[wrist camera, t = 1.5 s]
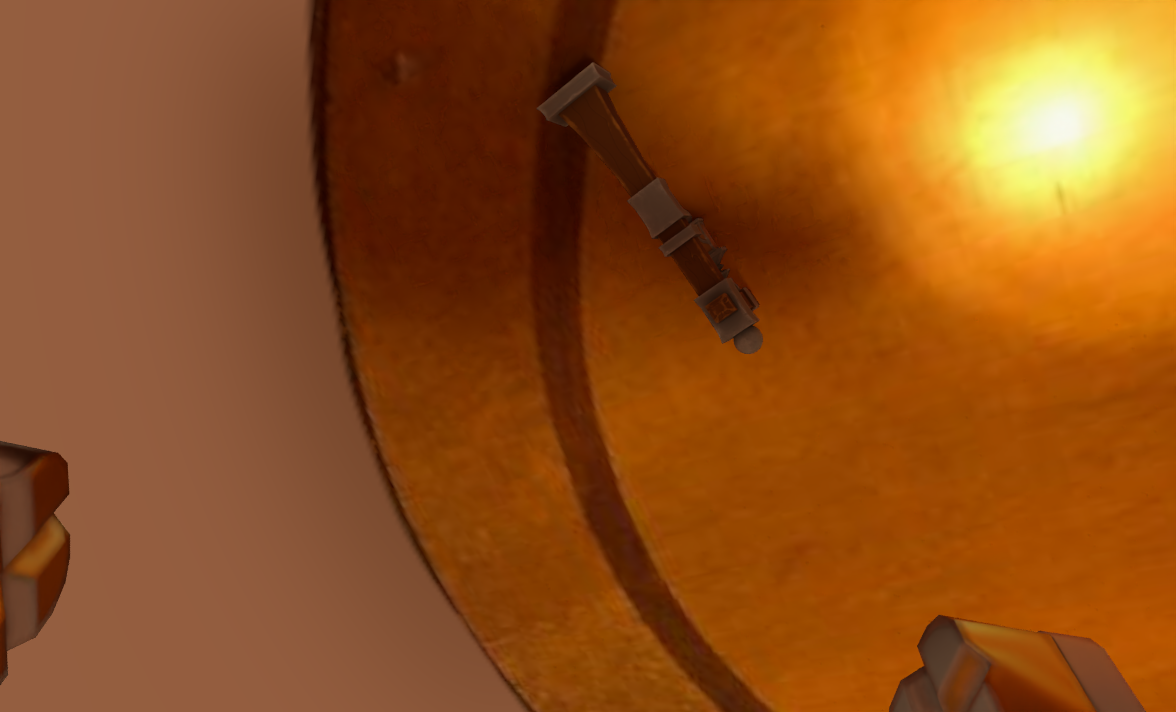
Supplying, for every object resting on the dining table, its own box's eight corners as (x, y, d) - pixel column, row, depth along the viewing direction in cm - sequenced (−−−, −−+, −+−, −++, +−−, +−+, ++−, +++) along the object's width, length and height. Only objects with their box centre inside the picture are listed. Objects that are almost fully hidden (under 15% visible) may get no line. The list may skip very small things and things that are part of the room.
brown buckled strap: (741, 354, 28) (722, 376, 24) (581, 126, 28) (533, 107, 24) (795, 317, 28) (785, 333, 23) (631, 86, 28) (591, 59, 24)
